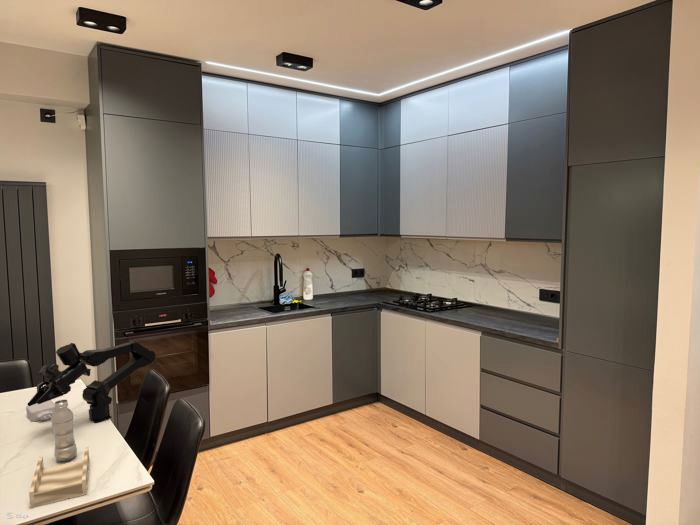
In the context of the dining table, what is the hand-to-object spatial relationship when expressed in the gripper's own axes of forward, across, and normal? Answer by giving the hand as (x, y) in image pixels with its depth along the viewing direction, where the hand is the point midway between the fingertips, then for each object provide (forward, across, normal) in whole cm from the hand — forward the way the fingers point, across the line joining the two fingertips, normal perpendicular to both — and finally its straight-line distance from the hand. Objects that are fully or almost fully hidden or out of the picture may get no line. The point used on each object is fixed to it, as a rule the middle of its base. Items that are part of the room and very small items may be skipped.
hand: (32, 404), depth 178 cm
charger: (-7, -28, +12) cm, 31 cm away
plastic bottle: (+8, +15, +19) cm, 26 cm away
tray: (+16, +29, +20) cm, 38 cm away
